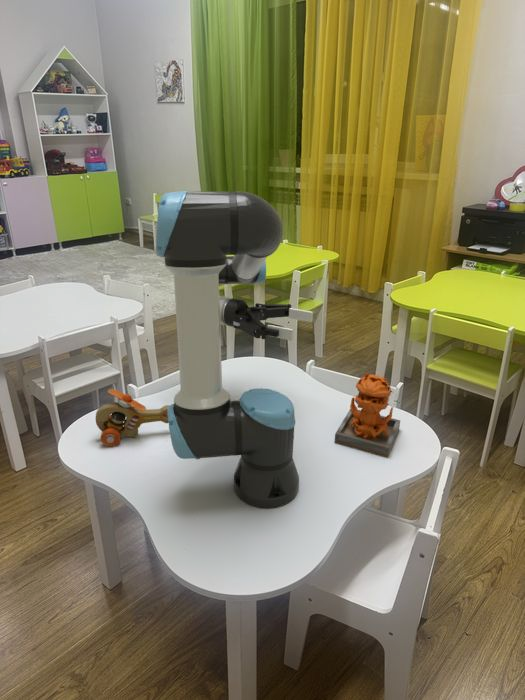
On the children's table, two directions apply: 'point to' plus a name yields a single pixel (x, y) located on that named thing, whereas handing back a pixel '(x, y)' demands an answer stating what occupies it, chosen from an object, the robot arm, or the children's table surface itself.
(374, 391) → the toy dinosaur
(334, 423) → the children's table surface
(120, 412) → the toy helicopter
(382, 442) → the tray
